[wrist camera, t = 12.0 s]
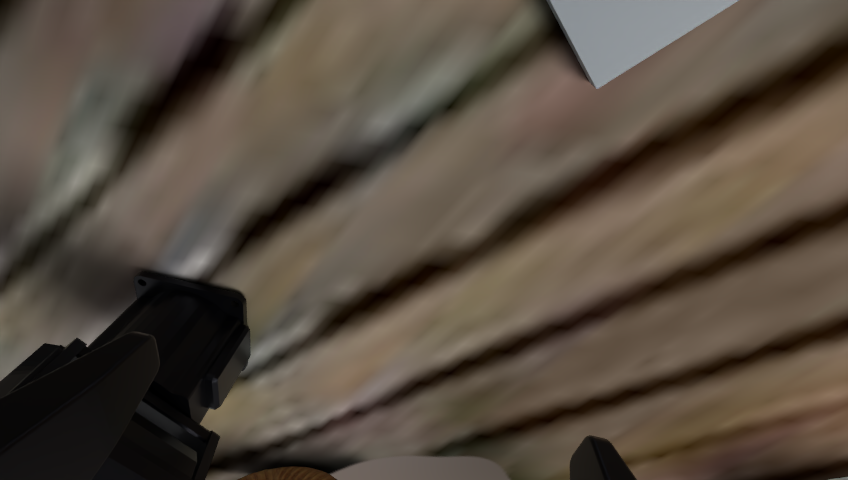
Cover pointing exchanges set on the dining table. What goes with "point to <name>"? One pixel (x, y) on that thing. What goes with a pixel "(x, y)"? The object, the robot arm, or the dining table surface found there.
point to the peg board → (626, 30)
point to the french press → (844, 479)
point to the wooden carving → (289, 474)
